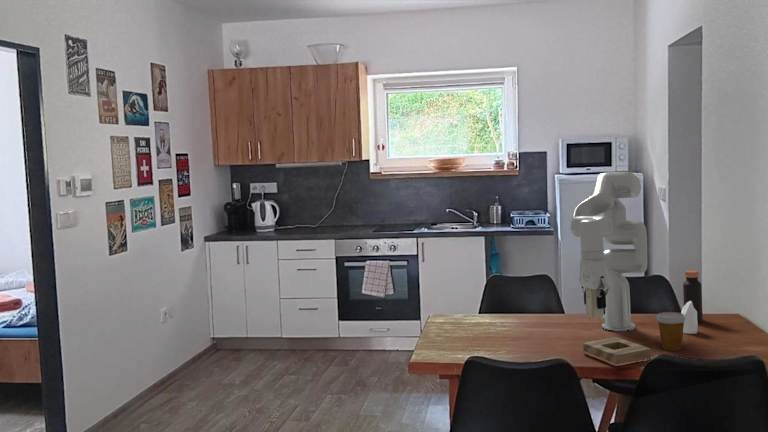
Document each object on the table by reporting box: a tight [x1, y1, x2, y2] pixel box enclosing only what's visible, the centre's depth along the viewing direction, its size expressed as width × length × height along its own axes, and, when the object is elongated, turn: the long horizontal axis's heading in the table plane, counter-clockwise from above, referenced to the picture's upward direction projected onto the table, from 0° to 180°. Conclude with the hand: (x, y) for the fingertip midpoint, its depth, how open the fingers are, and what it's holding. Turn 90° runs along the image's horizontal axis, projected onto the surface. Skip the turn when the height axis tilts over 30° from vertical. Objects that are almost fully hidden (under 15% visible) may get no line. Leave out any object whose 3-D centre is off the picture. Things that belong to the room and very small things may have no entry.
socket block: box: [582, 336, 652, 364], centre depth 248 cm, size 18×14×4 cm
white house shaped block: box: [680, 301, 699, 335], centre depth 272 cm, size 6×12×6 cm
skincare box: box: [585, 283, 605, 318], centre depth 247 cm, size 6×4×12 cm
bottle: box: [682, 269, 704, 323], centre depth 287 cm, size 7×7×20 cm
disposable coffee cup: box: [655, 311, 685, 352], centre depth 253 cm, size 10×10×12 cm
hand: (595, 305), depth 248 cm, fingers closed on skincare box, 6 cm apart
